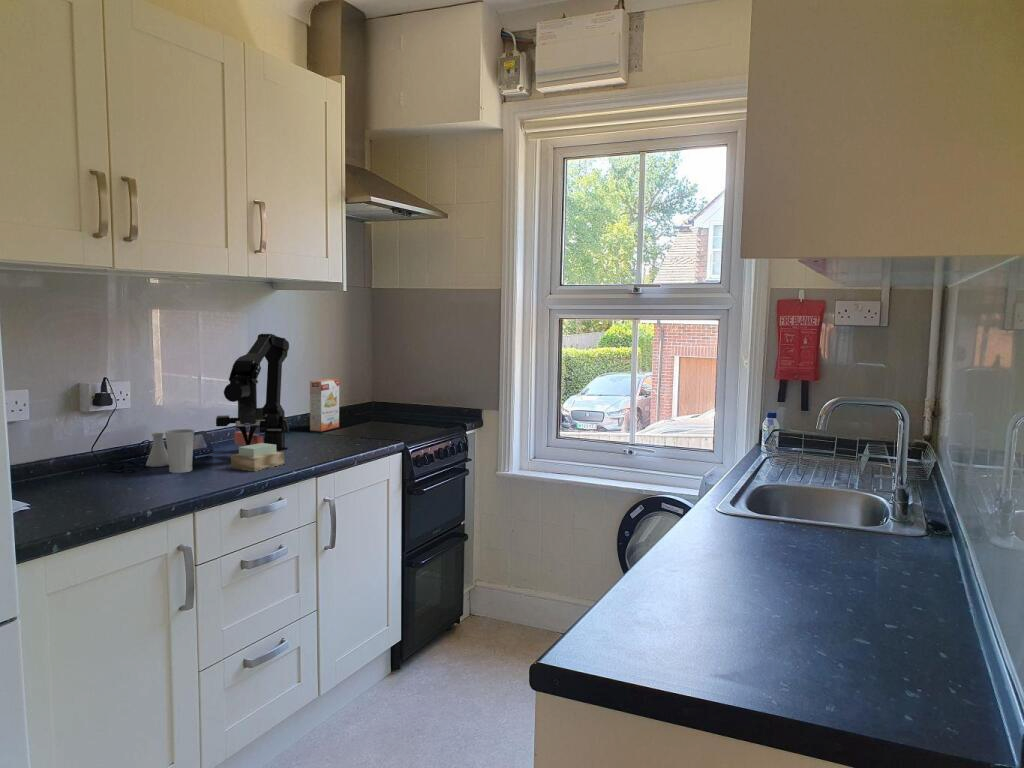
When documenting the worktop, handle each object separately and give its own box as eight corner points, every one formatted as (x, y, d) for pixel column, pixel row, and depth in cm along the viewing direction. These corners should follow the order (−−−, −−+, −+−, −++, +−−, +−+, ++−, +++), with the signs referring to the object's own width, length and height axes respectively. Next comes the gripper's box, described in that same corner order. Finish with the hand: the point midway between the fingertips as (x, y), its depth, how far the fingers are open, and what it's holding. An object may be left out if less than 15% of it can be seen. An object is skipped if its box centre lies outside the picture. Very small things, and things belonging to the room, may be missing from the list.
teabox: (261, 461, 227) (261, 449, 227) (284, 464, 223) (284, 452, 222) (230, 468, 217) (230, 455, 216) (254, 471, 212) (254, 458, 212)
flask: (176, 463, 224) (175, 432, 223) (163, 467, 217) (162, 435, 216) (154, 462, 224) (153, 431, 224) (140, 467, 217) (139, 435, 216)
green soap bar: (261, 450, 225) (261, 442, 225) (276, 452, 222) (276, 444, 222) (238, 455, 217) (238, 447, 217) (253, 457, 214) (253, 449, 214)
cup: (199, 470, 213) (198, 431, 212) (172, 474, 207) (170, 434, 206) (189, 466, 218) (188, 428, 217) (162, 470, 213) (160, 431, 212)
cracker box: (322, 432, 290) (321, 381, 288) (309, 431, 291) (308, 380, 290) (340, 427, 303) (339, 379, 301) (328, 426, 305) (327, 378, 303)
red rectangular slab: (234, 453, 236) (234, 431, 236) (240, 452, 238) (239, 431, 237) (257, 458, 228) (257, 436, 227) (263, 457, 229) (262, 435, 229)
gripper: (215, 401, 215) (216, 452, 216) (279, 400, 222) (280, 449, 223) (215, 398, 225) (216, 446, 226) (277, 396, 232) (277, 443, 233)
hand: (248, 446), depth 227 cm, fingers closed
